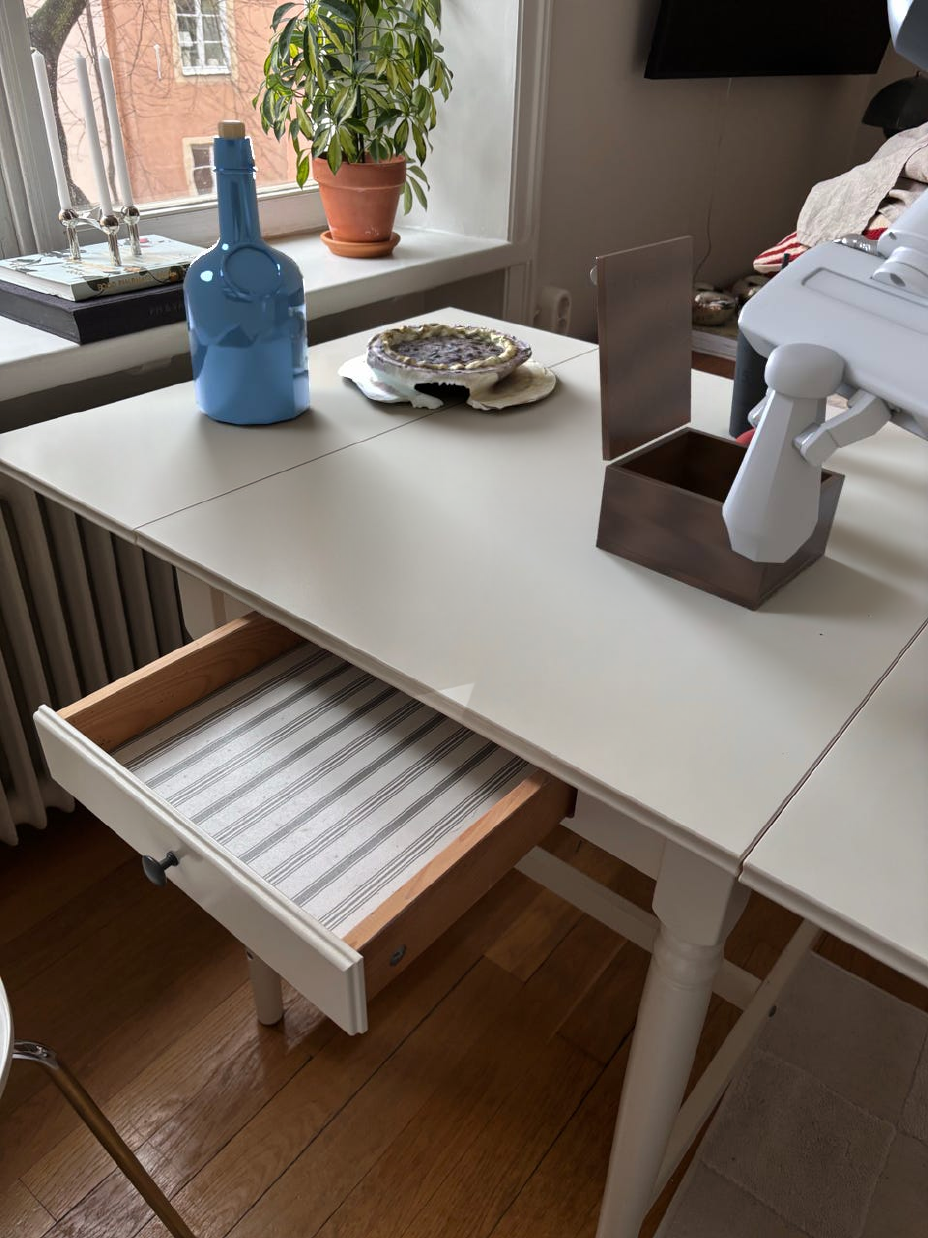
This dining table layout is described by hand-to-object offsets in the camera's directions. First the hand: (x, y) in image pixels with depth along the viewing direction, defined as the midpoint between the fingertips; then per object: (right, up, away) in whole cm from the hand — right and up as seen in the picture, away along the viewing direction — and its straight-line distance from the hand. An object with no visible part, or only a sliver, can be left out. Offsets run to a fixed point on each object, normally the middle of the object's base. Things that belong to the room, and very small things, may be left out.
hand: (779, 442), depth 58 cm
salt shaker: (0, -6, +4) cm, 8 cm away
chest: (+3, -4, +28) cm, 29 cm away
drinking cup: (+14, +11, +53) cm, 56 cm away
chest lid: (-3, +13, +25) cm, 28 cm away
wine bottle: (-43, +14, +55) cm, 71 cm away
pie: (-21, +20, +66) cm, 72 cm away
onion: (+10, +1, +39) cm, 40 cm away
